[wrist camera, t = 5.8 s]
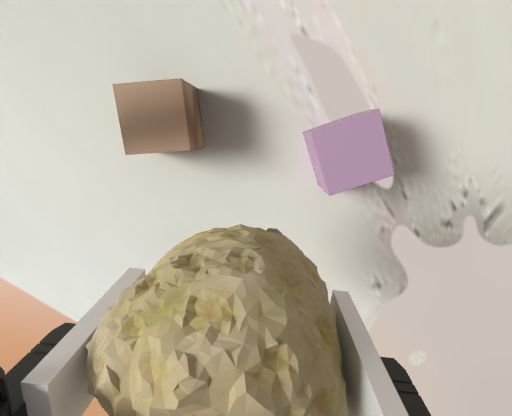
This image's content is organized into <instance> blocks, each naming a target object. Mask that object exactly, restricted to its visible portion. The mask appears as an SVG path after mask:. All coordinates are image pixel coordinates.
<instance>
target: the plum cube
mask: <svg viewBox="0 0 512 416" xmlns="http://www.w3.org/2000/svg"><path fill="white" fill-rule="evenodd" d="M303 135H304V138H305V142H306V145H307V148H308V152H309V155H310V159H311V162H312V165H313V169H314V172H315V176H316V179H317V182H318V185H319V186H320V187H321V188H322V189H323V190H324V191H325V192H326V193H327V194H328V195H329V196H330V195H333V194H336V193H339V192H343V191H346V190H349V189H352V188H355V187H358V186H361V185H364V184H368V183H371V182H374V181H377V180H380V179H383V178H386V177H389V176H392V175H394V171H393V167H392V163H391V158H390V154H389V149H388V145H387V140H386V136H385V132H384V127H383V123H382V118H381V114H380V109H374V110H369V111H364V112H360V113H356V114H353V115H350V116H347V117H344V118H341V119H339V120H336V121H333V122H330V123H327V124H324V125H322V126H319V127H316V128H313V129H310V130H307V131H305V132H303Z"/></svg>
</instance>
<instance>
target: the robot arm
mask: <svg viewBox="0 0 512 416" xmlns="http://www.w3.org/2000/svg"><path fill="white" fill-rule="evenodd" d="M144 276H145V269H136V268H129V269H128V270H127V271H126V273H125V274H124V275H123V276H122V277H121V278H120V279H119V280H118V281H117V282H116V283H115V284H114V285H113V286H112V287H111V288H110V289H109V290H108V291H107V292H106V293H105V295H104V296H103V297H102V298H101V299H100V300H99V301H98V302H97V303H96V304H95V305H94V306H93V307H92V308H91V309H90V310H89V311H88V312H87V313H86V314H85V315H84V316H83V318H82V319H81V320H80V321H79V322H78V323H77V324H72V323H64V324H63V325H61V326H59V327H57V328H56V329H54V330H52V331H51V332H50V333H49V334H48V335H47V336H45V338H43V339H42V340H41V341H40V344H37V345H36V346H35V347H34V348H33V349H32V350H31V352H30V353H28V354H27V355H26V356H25V357H24V358H22V360H21V361H20V362H18V363H17V364H16V365H15V366H14V367H13V368H12V369H11V370H10V371H9V372H8V373H7V374H6V375H5V373H4V370H3V369H2V368H1V367H0V416H82V415H83V413H84V412H85V410H86V409H87V407H88V405H89V404H90V402H91V401H92V399H93V398H94V396H93V395H90V394H87V390H88V386H89V380H88V377H87V373H86V361H87V354H88V351H87V348H86V345H87V344H88V343H89V342H90V340H91V339H92V337H93V335H94V333H95V331H96V329H97V327H98V325H99V323H100V321H101V319H102V317H103V316H104V314H105V313H106V312H108V308H109V307H111V306H114V305H115V303H116V301H117V299H118V297H119V296H120V295H121V293H122V292H123V291H124V290H125V289H127V288H129V287H131V285H132V283H133V282H134V281H135V280H137V279H138V278H143V277H144ZM330 306H331V307H332V308H333V309H334V310H335V312H336V326H337V333H338V338H339V343H340V349H341V354H342V362H341V372H342V376H343V378H344V381H345V383H346V400H347V407H348V414H349V416H431V415H430V413H429V411H428V410H427V407H426V406H425V404H424V402H423V400H422V398H421V397H420V396H419V395H418V392H417V390H416V388H415V386H414V385H413V384H412V381H411V379H410V377H409V376H408V374H407V372H406V370H405V369H404V368H403V367H402V366H401V365H400V364H399V363H398V362H397V361H396V360H395V359H394V358H386V357H380V356H379V354H378V352H377V350H376V348H375V346H374V344H373V342H372V340H371V338H370V336H369V334H368V332H367V330H366V328H365V326H364V323H363V321H362V319H361V317H360V315H359V313H358V311H357V309H356V307H355V305H354V303H353V301H352V299H351V297H350V295H349V293H348V292H345V291H336V290H333V292H332V297H331V302H330Z"/></svg>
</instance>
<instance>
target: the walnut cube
mask: <svg viewBox="0 0 512 416" xmlns="http://www.w3.org/2000/svg"><path fill="white" fill-rule="evenodd" d="M112 85H113V90H114V95H115V101H116V106H117V111H118V117H119V122H120V127H121V133H122V138H123V143H124V149H125V154H126V155H131V154H145V153H160V152H174V151H188V150H194V149H198V148H202V147H204V141H203V132H202V124H201V115H200V106H199V98H198V89H197V88H196V87H194V86H192V85H191V84H189V83H188V82H186V81H184V80H183V79H169V80H157V81H145V82H133V83H122V84H112Z"/></svg>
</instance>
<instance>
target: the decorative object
mask: <svg viewBox="0 0 512 416" xmlns="http://www.w3.org/2000/svg"><path fill="white" fill-rule="evenodd" d="M268 231H269V232H268ZM86 348H87V351H88V354H87V361H86V373H87V377H88V380H89V386H88V390H87V394H90V395H93V396H94V397H96V398H97V399H98V401H99V403H100V405H101V406H102V407H103V408H104V410H105V411H106V412H107V413H108V415H109V416H349V414H348V407H347V400H346V383H345V381H344V378H343V376H342V372H341V362H342V354H341V349H340V343H339V338H338V333H337V326H336V312H335V310H334V309H333V308H332V307H331V306H330V305H329V301H328V291H327V288H326V284H325V282H324V281H323V280H321V278H320V276H319V274H318V271H317V266H316V265H315V264H314V263H313V262H312V261H311V260H310V259H309V258H308V257H306V256H305V255H304V254H303V252H302V251H301V250H300V249H299V248H298V247H297V246H296V245H295V244H294V243H293V242H292V241H291V240H289V239H288V238H287V237H286V236H284V235H283V234H282V233H281V232H280V231H279V230H278V229H271V228H268V229H267V231H265V230H263V229H262V228H251V227H247V226H244V225H241V224H240V225H236V226H233V227H230V228H228V229H227V228H214V229H211V230H209V231H205V232H200V233H197V234H195V235H193V236H192V237H190V238H188V239H187V240H185V241H183V242H181V243H180V244H178V245H177V246H175V247H174V248H173V249H172V250H171V251H170V252H168V253H167V254H166V255H165V256H164V257H163V258H162V259H161V260H160V261H159V262H158V263H157V264H156V265H155V266H154V267H153V268H152V271H150V272H149V273H148V274H147V275H146V276H144V277H143V278H138V279H137V280H135V281H134V282H133V283H132V285H131V287H129V288H127V289H125V290H124V291H123V292H122V293H121V295H120V296H119V297H118V299H117V301H116V303H115V305H114V306H111V307H109V308H108V312H106V313H105V314H104V316H103V317H102V319H101V321H100V323H99V325H98V327H97V329H96V331H95V333H94V335H93V337H92V339H91V340H90V342H89V343H88V344H87V345H86Z"/></svg>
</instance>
